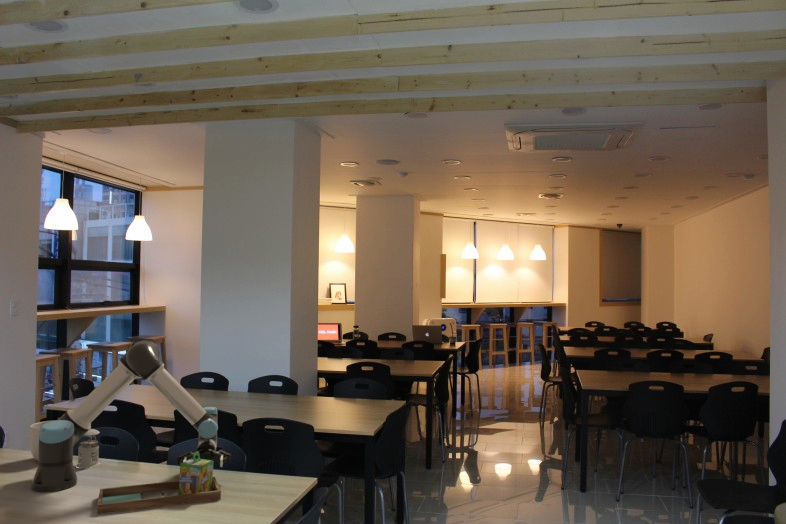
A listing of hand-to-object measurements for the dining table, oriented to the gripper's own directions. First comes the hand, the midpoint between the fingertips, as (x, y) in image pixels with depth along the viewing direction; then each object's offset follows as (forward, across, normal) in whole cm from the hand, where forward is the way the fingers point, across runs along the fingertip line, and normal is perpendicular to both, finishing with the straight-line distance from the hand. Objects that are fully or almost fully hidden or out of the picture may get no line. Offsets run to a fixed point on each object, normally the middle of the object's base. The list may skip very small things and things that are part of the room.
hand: (202, 464), depth 228 cm
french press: (-42, +49, -9) cm, 65 cm away
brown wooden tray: (+8, +14, -9) cm, 19 cm away
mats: (+8, +14, -9) cm, 19 cm away
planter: (-55, +68, -9) cm, 88 cm away
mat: (+10, +26, -9) cm, 30 cm away
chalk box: (+7, +2, -9) cm, 11 cm away
